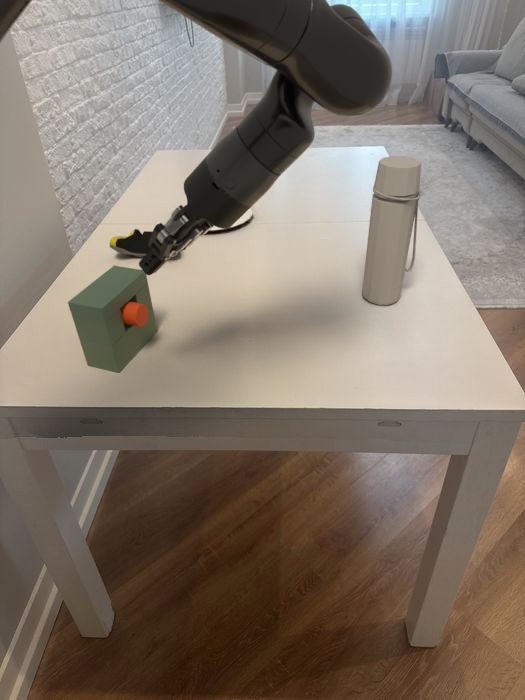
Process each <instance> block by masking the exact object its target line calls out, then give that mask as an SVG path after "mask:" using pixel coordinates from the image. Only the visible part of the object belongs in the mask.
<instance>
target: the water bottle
mask: <svg viewBox="0 0 525 700" xmlns="http://www.w3.org/2000/svg"><path fill="white" fill-rule="evenodd" d="M421 170H422V162H421V160H419V159H417V158H415V157H412V156H404V155H390V156H385V157H382V158H381V159H379V160H378V164H377V169H376V174H375V179H374V183H373V186H372V192H373V194H372V198H371V207H370V215H369V223H368V224H369V225H368V233H367V243H366V252H365V253H366V254H365V262H364V269H363V281H362V289H361V292H362V296H363V298H364V299H365V300H366V301H367V302H369V303H371V304H374V305H377V306H388V305H392V304H395V303H396V302H397V301H399V299H400V298H401V296H402V291H403V284H404V278H405V272H406V273H409V272H412V269H413V267H414V265H415V260H416V249H417V248H416V245H417V230H418V215H419V213H418V212H419V200H420V199H421V197H423V191H422V190H421V189H420V186H421V173H422V172H421ZM412 233H413V243H412V246H413V247H412V257H411V261H410V265H409V267H408V268H406V266H407V260H408V255H409V251H410V250H409V249H410V244H411V238H412Z"/></svg>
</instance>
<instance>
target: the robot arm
mask: <svg viewBox="0 0 525 700" xmlns="http://www.w3.org/2000/svg"><path fill="white" fill-rule="evenodd" d="M32 1H33V0H0V44H1V43H2V41H3V40H4V39H5V38H6V36H7V34H8V33H9V31H10V30H11V28H12V27H13V26H14V25H15V24H16V22H17V21H18V20H19V18H20V17H21V16H22V15H23V13H24V12H25V11H26V10H27V8H28V7H29V5H30V4H31V3H32ZM158 1H159V2H161V3H162V4H163V5H165V6H167V7H169V9H170V8H171V9H172V10H173V11H175V12H177V13H178V14H180V15H182V16H184V18H186V19H188V20H190V21H191V22H193V23H195V24H196V25H197V26H199V27H200V28H202V29H203V30H205V31H207V32H209V33H210V34H212V35H213V36H215V37H217V38H218V39H220V40H222V41H223V42H225V43H226V44H228V45H229V46H232V48H234V49H237V50H238V51H240V52H242V53H244V54H245V55H247V56H249V57H251V58H252V59H255V60H256V61H258V62H260V63H261V64H264V65H266V66H268V67H270V68H272V69H274V70H276V71H275V72H274V75H272V79H271V81H270V83H269V84H268V86H267V88H266V91H265V93H264V95H263V96H262V97H261V98H260V99H259V101H258V102H256V104H255V105H254V106H253V107H252V108H251V109H250V111H248V113H247V114H246V115H245V116H244V117H243V118H242V119H241V120H240V122H238V124H237V125H236V126H235V127H233V128H232V129H231V130H230V131H229V132H228V133H227V134H225V136H223V137H222V138H221V139H220V140H219V141H218V142H217V143H216V145H214V147H213V148H212V149H211V150H210V152H208V154H207V155H206V156H205V157H204V158H203V159H202V160H201V161H200V163H199V164H198V165H197V166H196V167H195V169H193V170H192V172H191V173H190V174H189V175H188V176H187V177H186V178H185V179H184V181H183V191H184V194H185V197H186V202H187V203H186V204H187V205H185V204H184V205H185V206H184V207H183V206H182V205H183V204H180V205H178V206H177V207H176V208H175V209H174V210H173V211H172V213H171V215H170V218H169V219H168V220H167V221H166V222H165V224H163V223H162V222H159V223H157V224H156V225H155V226H154V228H153V230H152V231H151V232H152V235H151V238H150V241H149V243H148V246H149V247H150V248H151V250H150V251H149V252H148V253H147V254H146V255H145V256H144V257H142V258H141V259H140V260H139V262H138V267H139V268H140V270H143V271H144V272H145V273H146V276H151V275H154V274H155V273H157V272H158V271H159V270H160V269H161V268H162V267H163V266H164V265H165V264H166V263H167V262H168V261H169V260H170V259H171V258H174V257H176V256H177V255H178V253H179V252H184V251H185V250H187V248H188V247H191V246H192V245H193V244H194V243H195V242H196V241H197V240H198V239H199V238H200V237H202V236H203V235H205V234H207V233H208V232H210V231H209V230H210V229H211V228H212V227H213V225H214V226H216V227H218V228H223V229H226V228H230V227H231V226H232V225H233V224H234V223H235V222H236V221H237V220H238V219H239V218H240V217H241V216H243V215H244V214H245V213H246V212H247V211H248V210H249V209H250V208H251V209H252V207H253V206H254V205H255V204H256V203H257V202H258V201H259V200H260V199H261V198H262V197H263V196H264V195H265V194H267V192H268V191H270V189H271V188H272V187H273V185H274V184H275V183H276V182H277V180H278V179H279V178H280V177H281V175H282V174H284V173H285V172H286V170H288V169H289V168H290V167H291V166H292V165H293V164H294V163H295V162H296V161H297V160H298V159H299V158H300V157H301V156H302V155H303V154H304V153H305V152H306V151H307V150H308V149H309V147H310V146H311V145H312V144H313V142H314V139H315V127H314V122H313V118H312V109H313V107H314V104H315V103H316V104H317V105H318V106H319V107H321V108H322V109H323V110H326V111H327V112H329V113H331V114H332V115H336V116H338V117H341V118H357V117H361V116H364V115H366V114H368V113H370V112H372V111H374V110H375V109H376V108H377V107H378V106H379V105H380V104H381V103H382V102H383V100H384V99H385V98H386V96H387V94H388V93H389V90H390V88H391V86H392V85H391V84H392V81H393V80H392V79H393V66H392V65H393V64H392V61H391V58H390V56H389V53H388V51H387V50H386V48H385V47H384V46H383V44H382V43H381V41H380V40H379V39H378V38H377V36H376V35H375V33H374V32H373V31H372V29H370V27H369V25H368V24H367V23H366V21H365V20H364V19H363V17H362V16H361V15H360V14H359V13H358V11H356V9H354V7H352V6H350V5H347V4H344V3H337V4H331V5H330V4H329V2H328V1H327V0H158ZM230 229H231V228H230ZM226 230H227V229H226Z"/></svg>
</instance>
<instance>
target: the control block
mask: <svg viewBox="0 0 525 700" xmlns="http://www.w3.org/2000/svg"><path fill="white" fill-rule="evenodd" d="M128 301H130V302H136V303H141V304H145V305H146V306H147V308H148V319H147V321H146V323H145V324H144V325H143V326H142V327H139V326H134V325H129V324H124V323H123V319H122V315H121V311H120V308H121V307H122V306H123V305H124V304H125V303H127V302H128ZM67 305H68V308H69V312H70V315H71V318H72V321H73V323H74V327H75V331H76V333H77V336H78V339H79V342H80V346H81V349H82V352H83V355H84V358H85V362H86V365H87V366H88V367H93V368H97V369H100V370H101V369H102V370H105V371H109V372H114V373H118V374H120V373H121V372H122V371H123V369H124V368H125V367H127V365H128V364H129V363H130V362H131V361H132V360H133V359H134V358H135V357H136V355H137V354H138V353H139V352H140V351H141V350H142V349H143V348H144V346H146V344H148V342H149V341H150V340H151V339H152V338H153V337H154V336H155V335H156V333H158V327H157V322H156V317H155V313H154V307H153V302H152V297H151V292H150V286H149V282H148V275H147V274H146V273H145V272H144V271H143V270H142V269H138V268H131V267H126V266H120V265H112V266H111V267H110V268H109V269H107V270H106V271H105V272H104V273H102V274H101V275H100V276H98V278H96V279H95V280H93V281H92V282H91V283H90V284H88V285H87V286H86V287H84V288H83V289H82V290H80V292H78V293H77V294H76V295H75V296H73V297H72V298H71V299H70V300H69V301H67Z"/></svg>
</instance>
